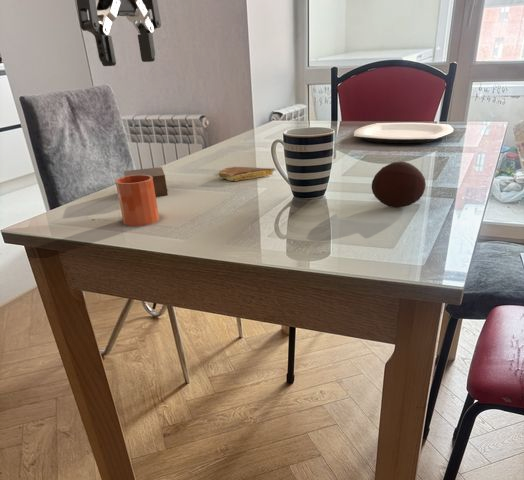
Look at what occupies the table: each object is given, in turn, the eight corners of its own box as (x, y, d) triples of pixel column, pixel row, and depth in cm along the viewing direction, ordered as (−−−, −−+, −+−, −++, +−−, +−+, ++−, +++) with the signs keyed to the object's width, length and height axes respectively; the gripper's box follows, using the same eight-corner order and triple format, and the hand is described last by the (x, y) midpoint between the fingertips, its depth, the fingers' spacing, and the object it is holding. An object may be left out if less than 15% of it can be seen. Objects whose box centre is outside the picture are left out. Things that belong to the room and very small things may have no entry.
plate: (370, 128, 160) (370, 121, 159) (459, 130, 150) (460, 123, 148) (341, 144, 140) (342, 136, 139) (442, 148, 129) (443, 140, 128)
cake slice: (275, 175, 114) (274, 167, 113) (261, 183, 108) (261, 175, 107) (231, 173, 118) (231, 165, 117) (216, 181, 112) (215, 172, 111)
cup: (125, 234, 84) (115, 185, 80) (124, 223, 89) (115, 177, 85) (161, 229, 85) (153, 181, 81) (158, 219, 90) (151, 173, 86)
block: (128, 199, 103) (124, 179, 101) (127, 190, 109) (123, 170, 107) (167, 195, 104) (164, 175, 102) (164, 185, 111) (161, 166, 109)
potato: (417, 216, 85) (423, 168, 81) (363, 211, 88) (366, 165, 84) (427, 203, 91) (433, 158, 87) (376, 199, 94) (379, 155, 90)
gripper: (123, -64, 75) (142, 61, 84) (45, -77, 65) (76, 68, 74) (162, -72, 72) (178, 60, 80) (86, -86, 62) (113, 67, 70)
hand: (129, 63), depth 77 cm, fingers open, 8 cm apart
